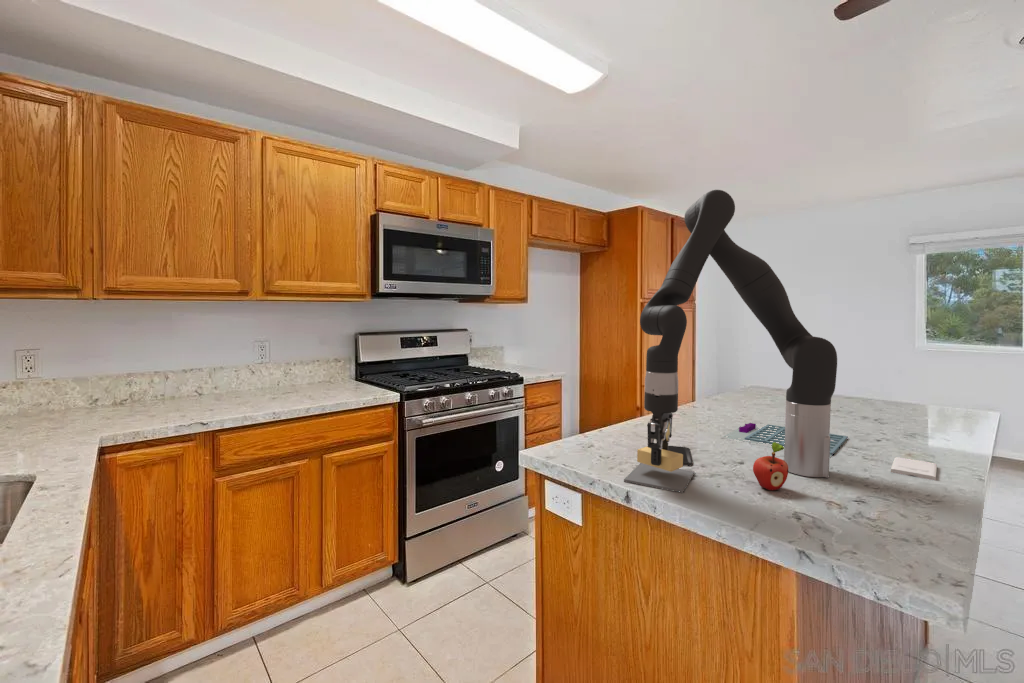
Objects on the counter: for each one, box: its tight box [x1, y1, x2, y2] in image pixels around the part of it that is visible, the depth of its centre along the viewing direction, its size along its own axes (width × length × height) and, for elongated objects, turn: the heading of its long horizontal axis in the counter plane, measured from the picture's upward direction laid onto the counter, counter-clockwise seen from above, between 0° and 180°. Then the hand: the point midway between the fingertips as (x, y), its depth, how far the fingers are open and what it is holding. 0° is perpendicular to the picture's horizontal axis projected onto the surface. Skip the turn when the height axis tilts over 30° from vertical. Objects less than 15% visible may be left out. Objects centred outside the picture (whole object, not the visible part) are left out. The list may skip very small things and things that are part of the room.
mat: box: [623, 462, 696, 493], centre depth 109 cm, size 13×14×1 cm
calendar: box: [723, 422, 848, 459], centre depth 144 cm, size 27×29×2 cm
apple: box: [752, 442, 789, 491], centre depth 103 cm, size 8×7×10 cm
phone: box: [668, 445, 693, 466], centre depth 126 cm, size 8×1×15 cm
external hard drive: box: [890, 456, 938, 481], centre depth 115 cm, size 2×8×12 cm
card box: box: [636, 445, 684, 472], centre depth 109 cm, size 5×9×3 cm, turn 40°
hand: (659, 460), depth 109 cm, fingers closed on card box, 6 cm apart
